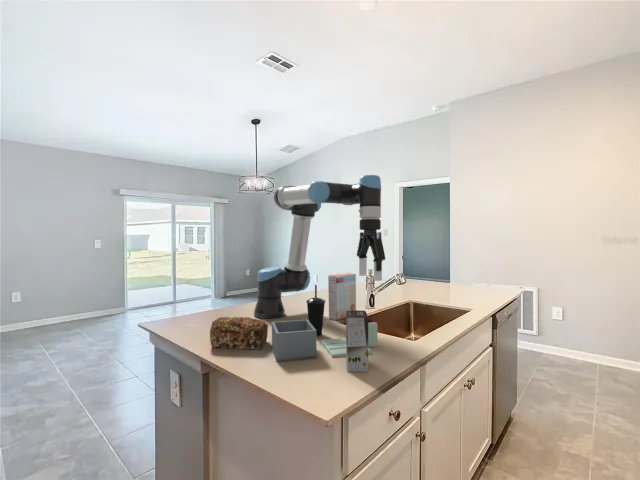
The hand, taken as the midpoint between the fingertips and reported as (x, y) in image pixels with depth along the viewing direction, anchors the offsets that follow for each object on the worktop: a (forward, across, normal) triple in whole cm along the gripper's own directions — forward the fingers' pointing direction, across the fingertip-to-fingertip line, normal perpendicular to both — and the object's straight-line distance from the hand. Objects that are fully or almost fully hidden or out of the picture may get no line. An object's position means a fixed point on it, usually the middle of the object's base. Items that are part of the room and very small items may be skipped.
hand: (369, 278), depth 118 cm
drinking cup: (+25, -17, -16) cm, 34 cm away
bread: (+25, -12, -46) cm, 53 cm away
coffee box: (+25, +16, -11) cm, 31 cm away
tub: (+24, 0, -28) cm, 37 cm away
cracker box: (+25, -41, +3) cm, 48 cm away
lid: (+24, 0, -7) cm, 25 cm away
